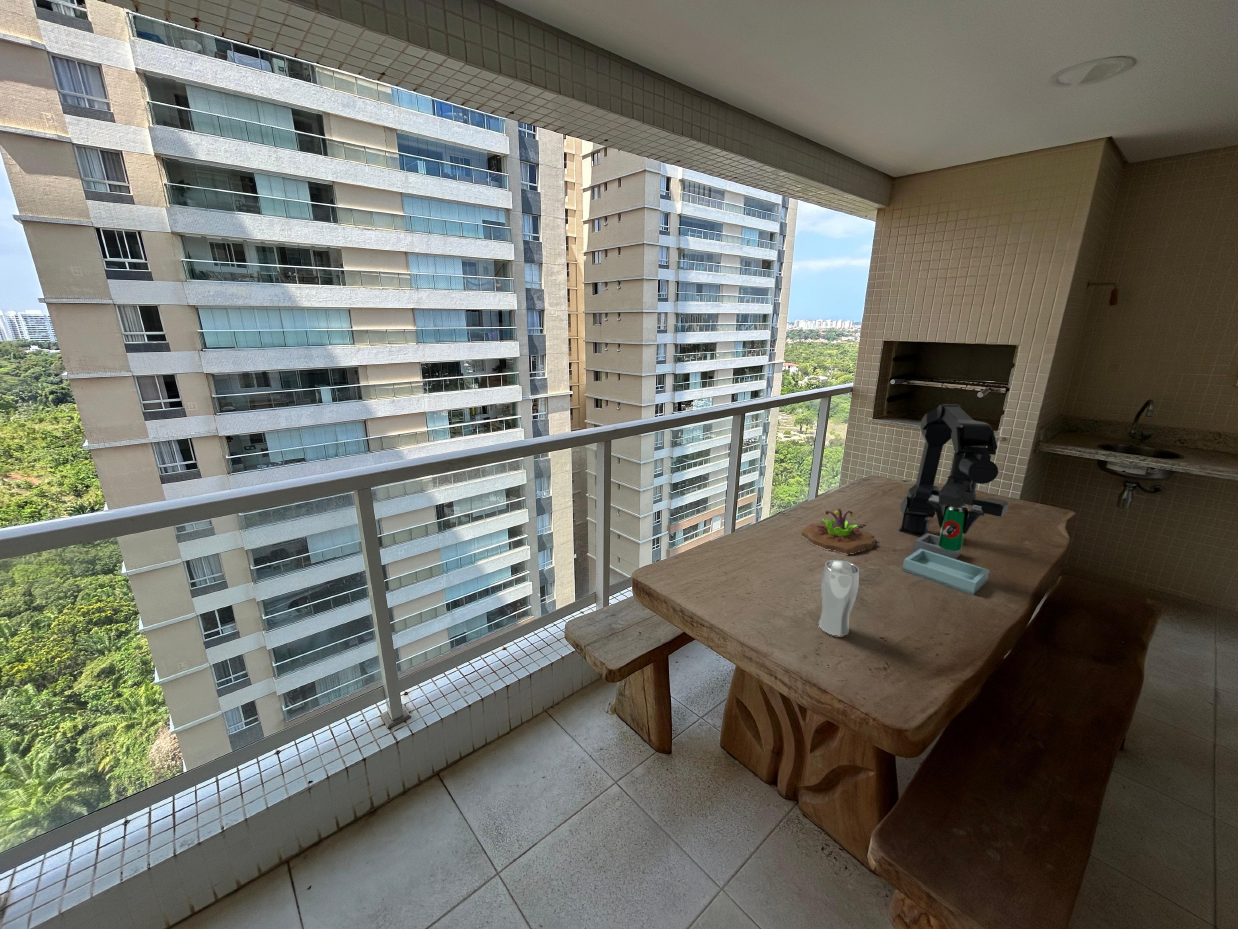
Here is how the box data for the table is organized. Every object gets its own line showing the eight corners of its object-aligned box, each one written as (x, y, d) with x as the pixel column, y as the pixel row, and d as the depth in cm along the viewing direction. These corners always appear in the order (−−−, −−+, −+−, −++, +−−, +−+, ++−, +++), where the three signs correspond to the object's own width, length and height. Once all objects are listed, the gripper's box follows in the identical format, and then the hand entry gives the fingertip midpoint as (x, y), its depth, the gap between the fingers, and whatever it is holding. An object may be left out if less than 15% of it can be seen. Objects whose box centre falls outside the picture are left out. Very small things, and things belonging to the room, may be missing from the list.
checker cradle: (913, 553, 134) (915, 539, 133) (925, 545, 139) (927, 531, 138) (948, 564, 127) (951, 550, 126) (959, 555, 132) (962, 541, 131)
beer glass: (810, 620, 102) (817, 559, 98) (839, 619, 102) (848, 558, 98) (826, 640, 95) (835, 575, 91) (858, 638, 95) (868, 574, 92)
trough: (902, 570, 124) (904, 559, 123) (918, 559, 130) (920, 548, 129) (972, 595, 112) (975, 583, 111) (986, 581, 118) (989, 569, 117)
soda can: (965, 552, 116) (974, 508, 113) (943, 551, 117) (951, 507, 114) (955, 544, 121) (963, 502, 118) (934, 543, 122) (942, 501, 119)
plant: (790, 538, 145) (793, 505, 142) (822, 524, 157) (825, 493, 154) (853, 561, 130) (858, 525, 127) (883, 543, 141) (888, 509, 139)
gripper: (910, 470, 116) (900, 526, 120) (1001, 487, 102) (987, 551, 106) (927, 463, 123) (917, 517, 127) (1015, 478, 108) (1001, 539, 112)
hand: (952, 530), depth 118 cm, fingers closed on soda can, 5 cm apart
